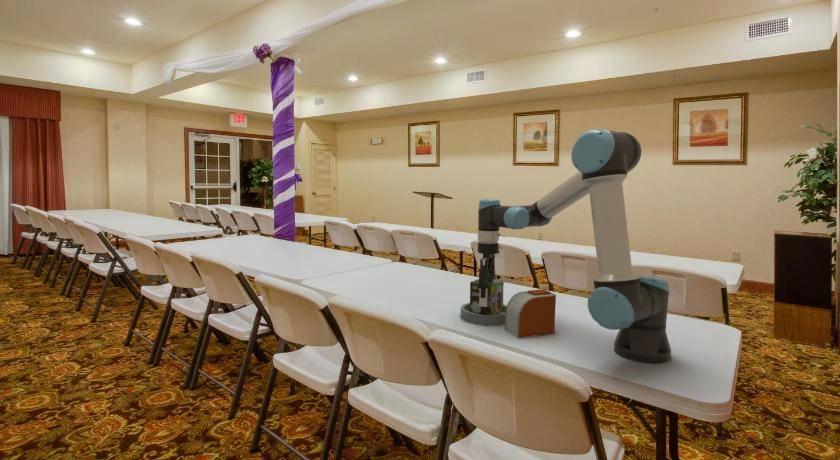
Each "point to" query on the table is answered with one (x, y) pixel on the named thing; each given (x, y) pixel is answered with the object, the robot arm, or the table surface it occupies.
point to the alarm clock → (531, 313)
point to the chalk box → (492, 298)
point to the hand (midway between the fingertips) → (486, 302)
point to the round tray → (482, 316)
